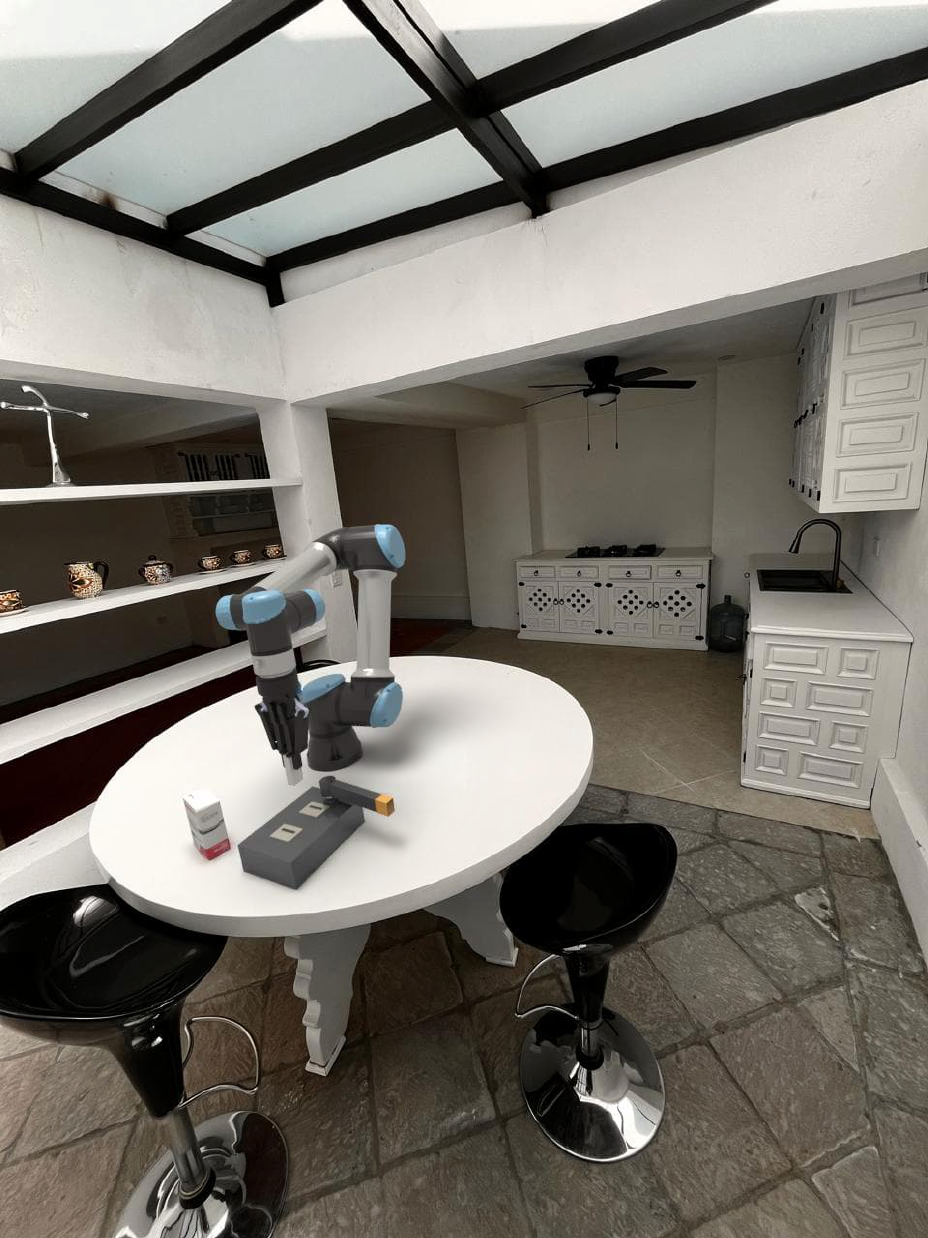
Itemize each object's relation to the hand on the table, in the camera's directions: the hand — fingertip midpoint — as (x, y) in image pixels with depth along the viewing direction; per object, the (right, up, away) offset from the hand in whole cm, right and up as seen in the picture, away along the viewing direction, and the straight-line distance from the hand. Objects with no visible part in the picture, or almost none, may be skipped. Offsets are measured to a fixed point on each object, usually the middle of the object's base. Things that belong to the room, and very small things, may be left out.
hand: (295, 782), depth 102 cm
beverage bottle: (-21, -2, +62) cm, 65 cm away
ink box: (-20, -16, +6) cm, 26 cm away
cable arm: (+11, -6, +5) cm, 13 cm away
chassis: (+1, -14, +4) cm, 15 cm away
